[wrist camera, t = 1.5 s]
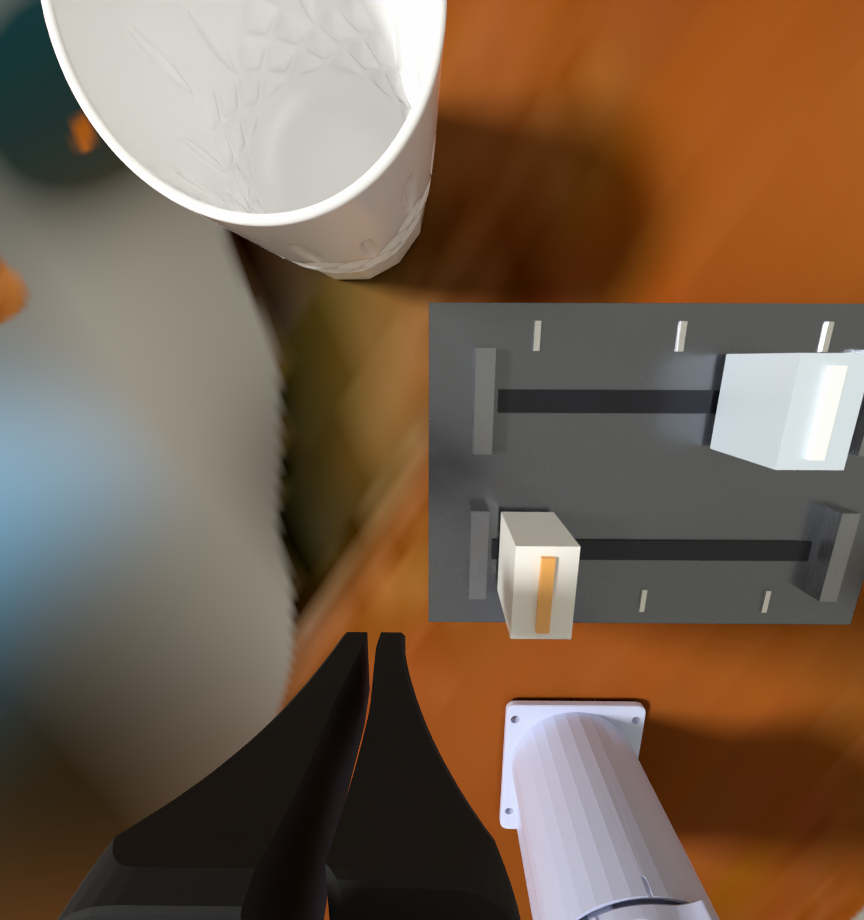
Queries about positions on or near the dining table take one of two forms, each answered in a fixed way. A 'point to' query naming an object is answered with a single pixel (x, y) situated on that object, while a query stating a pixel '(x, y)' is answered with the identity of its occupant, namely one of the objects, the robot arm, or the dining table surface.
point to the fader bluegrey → (789, 409)
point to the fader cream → (537, 575)
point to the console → (634, 462)
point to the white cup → (270, 114)
